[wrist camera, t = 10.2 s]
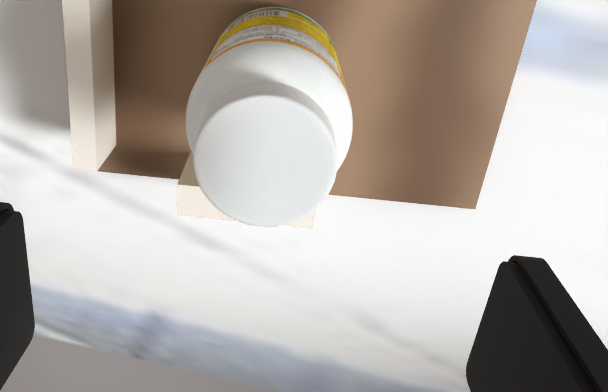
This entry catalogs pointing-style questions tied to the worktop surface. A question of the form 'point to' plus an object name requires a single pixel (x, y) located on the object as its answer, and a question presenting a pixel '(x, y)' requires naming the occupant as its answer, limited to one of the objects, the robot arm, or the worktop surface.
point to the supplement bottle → (269, 118)
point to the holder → (111, 102)
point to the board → (358, 80)
